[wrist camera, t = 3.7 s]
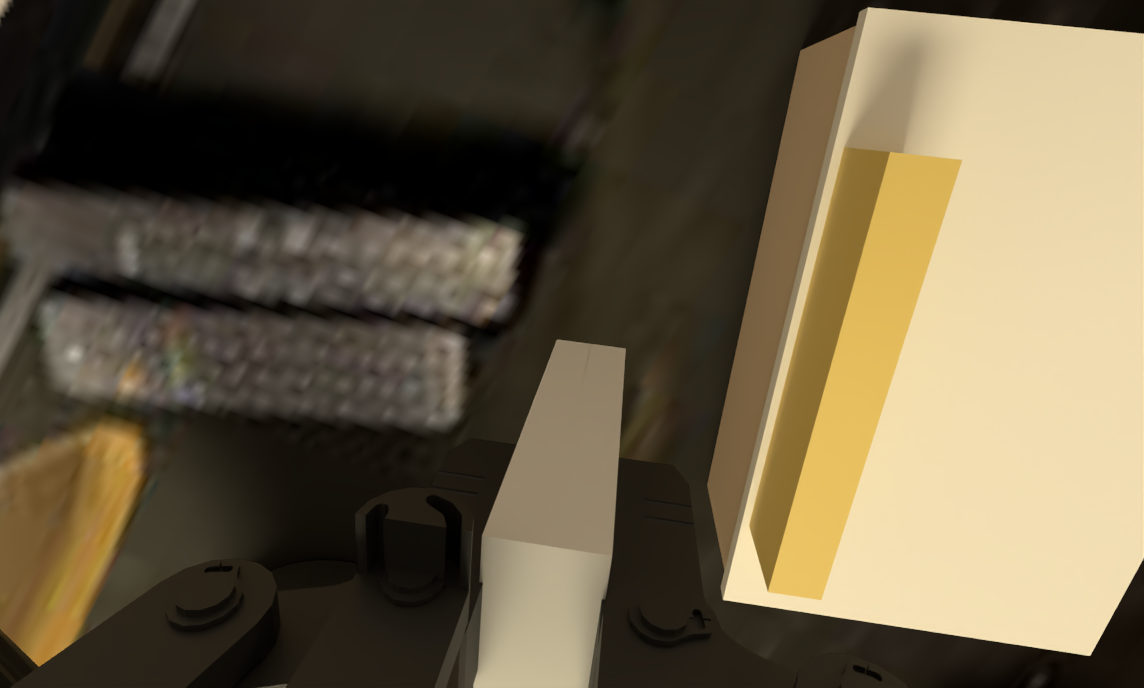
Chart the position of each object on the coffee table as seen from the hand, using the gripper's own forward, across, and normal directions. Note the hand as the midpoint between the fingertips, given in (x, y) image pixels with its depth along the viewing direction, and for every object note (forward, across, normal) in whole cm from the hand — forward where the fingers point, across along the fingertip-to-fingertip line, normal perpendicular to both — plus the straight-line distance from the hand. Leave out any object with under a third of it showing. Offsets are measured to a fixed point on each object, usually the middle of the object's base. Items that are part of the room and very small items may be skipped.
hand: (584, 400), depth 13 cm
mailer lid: (+6, +12, 0) cm, 13 cm away
